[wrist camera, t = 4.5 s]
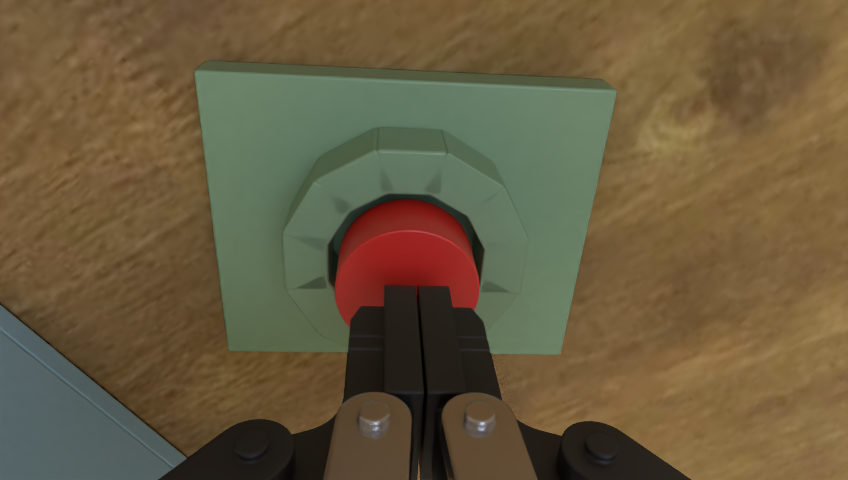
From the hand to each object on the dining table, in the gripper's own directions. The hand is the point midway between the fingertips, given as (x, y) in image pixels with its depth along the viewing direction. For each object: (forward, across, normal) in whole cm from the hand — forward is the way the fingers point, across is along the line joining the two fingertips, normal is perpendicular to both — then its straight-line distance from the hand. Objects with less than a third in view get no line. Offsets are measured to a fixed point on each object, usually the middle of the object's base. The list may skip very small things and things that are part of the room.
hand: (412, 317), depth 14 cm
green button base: (+5, 0, 0) cm, 5 cm away
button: (+3, 0, 0) cm, 3 cm away
